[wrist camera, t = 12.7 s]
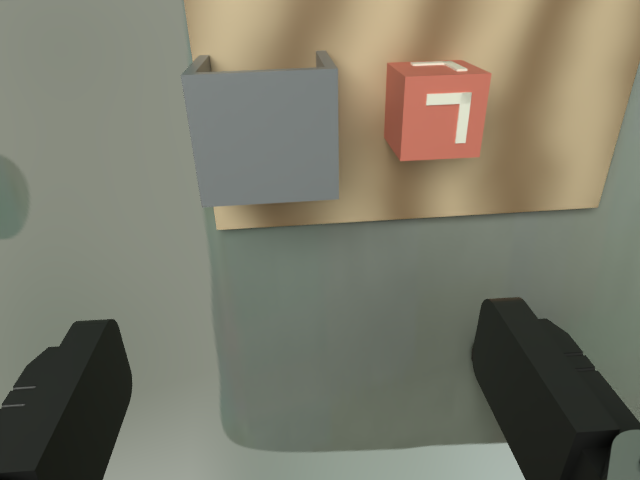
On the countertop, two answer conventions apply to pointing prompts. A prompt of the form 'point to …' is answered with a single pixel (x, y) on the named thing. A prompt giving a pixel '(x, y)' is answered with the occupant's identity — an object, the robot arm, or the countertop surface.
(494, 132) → the board
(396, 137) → the letter cube
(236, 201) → the cover
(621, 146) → the countertop surface
